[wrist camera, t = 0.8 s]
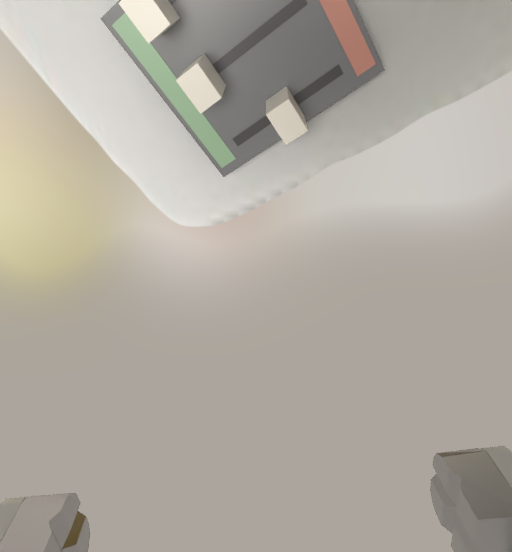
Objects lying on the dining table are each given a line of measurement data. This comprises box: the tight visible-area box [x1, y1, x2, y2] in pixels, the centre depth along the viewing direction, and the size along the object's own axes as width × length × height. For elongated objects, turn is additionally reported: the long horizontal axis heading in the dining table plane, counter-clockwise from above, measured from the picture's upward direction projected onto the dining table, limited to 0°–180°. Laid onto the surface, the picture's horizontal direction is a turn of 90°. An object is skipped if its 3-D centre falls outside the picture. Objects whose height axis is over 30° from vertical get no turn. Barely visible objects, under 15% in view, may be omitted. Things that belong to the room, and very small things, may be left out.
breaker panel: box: [101, 0, 385, 177], centre depth 41 cm, size 20×19×3 cm
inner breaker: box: [119, 0, 180, 44], centre depth 36 cm, size 2×4×5 cm
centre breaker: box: [176, 53, 226, 114], centre depth 39 cm, size 2×4×5 cm
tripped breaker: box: [266, 86, 308, 145], centre depth 41 cm, size 2×4×5 cm
